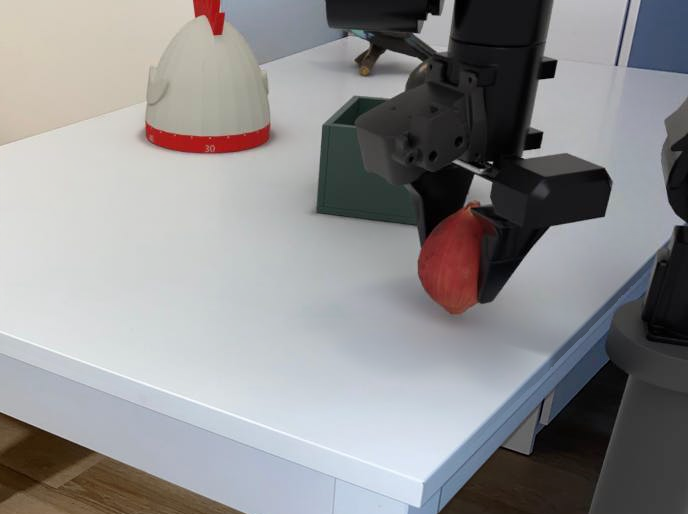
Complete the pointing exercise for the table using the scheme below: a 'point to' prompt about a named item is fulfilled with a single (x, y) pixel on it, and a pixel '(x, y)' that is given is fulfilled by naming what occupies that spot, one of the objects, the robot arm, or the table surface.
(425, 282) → the onion
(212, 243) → the table surface
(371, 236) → the table surface
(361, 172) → the open green box
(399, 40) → the bird figurine
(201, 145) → the kitchen timer
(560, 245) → the table surface
